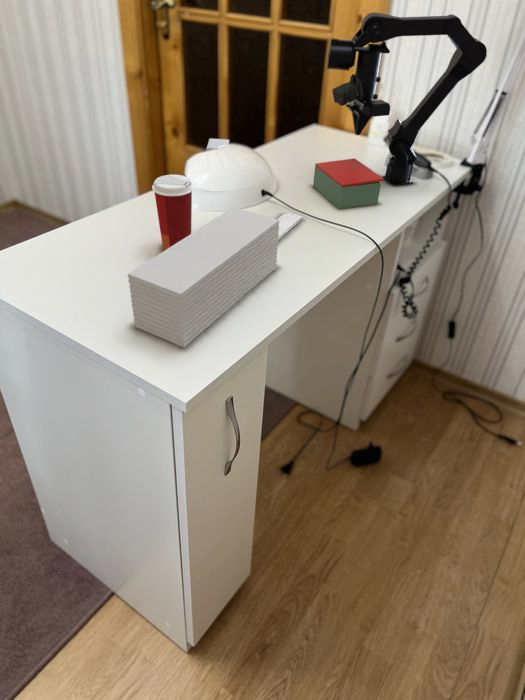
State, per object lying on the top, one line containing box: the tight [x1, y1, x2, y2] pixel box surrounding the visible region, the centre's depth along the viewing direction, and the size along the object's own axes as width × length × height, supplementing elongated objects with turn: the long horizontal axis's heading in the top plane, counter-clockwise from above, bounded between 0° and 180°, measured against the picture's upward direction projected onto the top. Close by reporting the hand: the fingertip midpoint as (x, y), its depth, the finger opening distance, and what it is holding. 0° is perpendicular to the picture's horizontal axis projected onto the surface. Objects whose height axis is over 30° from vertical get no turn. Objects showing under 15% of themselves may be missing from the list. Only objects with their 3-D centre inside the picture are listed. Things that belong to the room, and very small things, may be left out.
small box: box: [205, 138, 231, 151], centre depth 142 cm, size 8×6×10 cm
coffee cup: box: [151, 174, 194, 251], centre depth 111 cm, size 8×8×15 cm
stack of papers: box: [127, 206, 279, 348], centre depth 99 cm, size 32×11×11 cm, turn 150°
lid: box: [314, 158, 385, 187], centre depth 139 cm, size 12×15×1 cm
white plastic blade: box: [277, 212, 302, 241], centre depth 124 cm, size 5×15×1 cm, turn 152°
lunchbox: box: [312, 166, 382, 210], centre depth 141 cm, size 11×15×6 cm
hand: (357, 134), depth 145 cm, fingers closed
